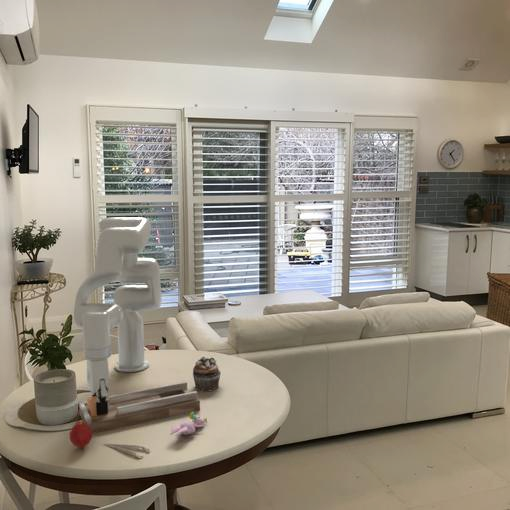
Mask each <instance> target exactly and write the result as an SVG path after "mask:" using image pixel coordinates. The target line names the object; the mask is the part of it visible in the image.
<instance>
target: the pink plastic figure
mask: <svg viewBox="0 0 510 510" xmlns="http://www.w3.org/2000/svg"><path fill="white" fill-rule="evenodd" d="M194 413H195V411H192V412H189V416H188V417H189V419H190V420H192V421H188V420H185V421H182V422H180V423H179V424H178V425H176V426H174V427H172V428H171V430H170V436H172V435H174V437H177V436H179V435H184V436H185V435H186V436H187V435H191V434H194V433H195V431H196V428H203V427H205V424H206V423H208V419H207V418H206V417H205V418H203V419H202V418H201V416H200V415H199V416H196V415H195V414H194Z"/></svg>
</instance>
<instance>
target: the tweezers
mask: <svg viewBox="0 0 510 510" xmlns="http://www.w3.org/2000/svg"><path fill="white" fill-rule="evenodd" d="M102 446H107V447H110V448H112V449H116V450H119V451H121V452H124V453H126V454H128V455H130V456H133V457H134V458H137V459H140V460H142V459H143V458H144V455H140V454H137V453H136V452H134V451H133V450H135V451H142V452H146V453H147V454H149V453H151V449H150V448H147V447H145V446H140V445H136V444H119V443H105V442H103V443H102ZM129 449H130V450H129Z"/></svg>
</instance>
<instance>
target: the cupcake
mask: <svg viewBox="0 0 510 510" xmlns="http://www.w3.org/2000/svg"><path fill="white" fill-rule="evenodd" d="M192 378H193V381H194V385H195V389H197V391H200V390H203V391H202V392H209V390H212V391H215V390H217V389H218V388H219V384H220V378H221V371H220V369H219V366H218V364H217V360H216V359H215V358H213V357H211V358H206V357H205V356H202V357H201V358H200V359H197V361H195V365H194V367H193V369H192ZM216 388H217V389H216ZM214 389H215V390H214Z"/></svg>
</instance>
